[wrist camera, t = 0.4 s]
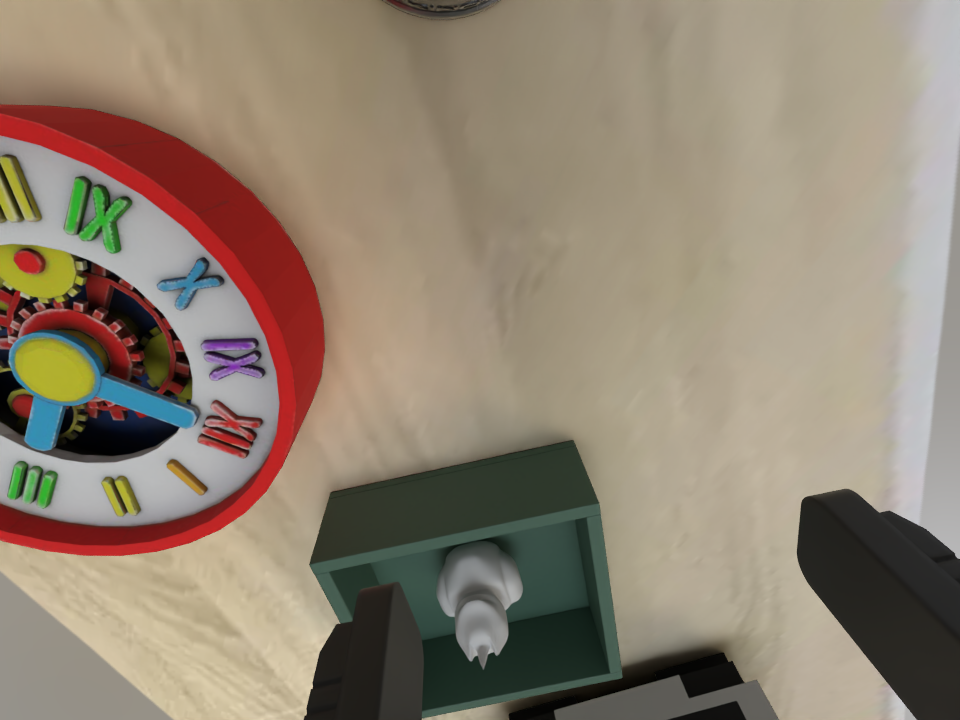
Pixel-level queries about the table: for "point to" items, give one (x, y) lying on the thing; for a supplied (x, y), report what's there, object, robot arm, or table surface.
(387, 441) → the table surface
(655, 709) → the game console
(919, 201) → the table surface
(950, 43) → the table surface
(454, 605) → the grey rounded piece
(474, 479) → the box
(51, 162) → the toy clock
